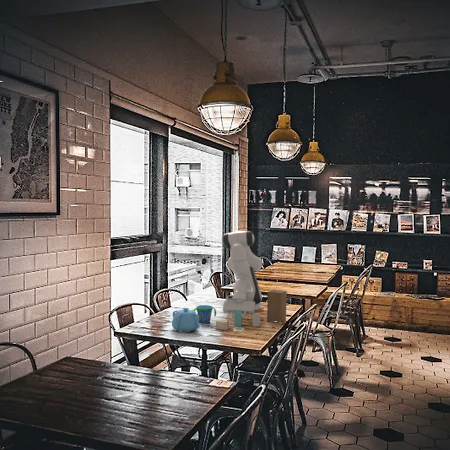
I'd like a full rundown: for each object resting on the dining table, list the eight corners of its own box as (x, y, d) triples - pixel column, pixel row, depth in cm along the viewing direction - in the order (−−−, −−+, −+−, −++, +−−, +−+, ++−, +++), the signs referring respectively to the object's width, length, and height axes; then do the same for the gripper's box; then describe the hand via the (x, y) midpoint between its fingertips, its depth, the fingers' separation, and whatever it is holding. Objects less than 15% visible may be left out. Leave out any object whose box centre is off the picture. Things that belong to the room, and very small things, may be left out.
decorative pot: (197, 327, 316) (198, 305, 316) (200, 333, 300) (200, 310, 300) (171, 327, 314) (172, 305, 314) (172, 333, 298) (172, 310, 298)
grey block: (252, 324, 325) (253, 312, 325) (259, 325, 325) (260, 312, 324) (252, 326, 321) (252, 314, 320) (259, 326, 320) (259, 314, 320)
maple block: (218, 326, 319) (218, 318, 319) (228, 327, 318) (229, 319, 318) (215, 329, 313) (215, 321, 312) (226, 329, 311) (226, 321, 311)
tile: (234, 327, 316) (234, 326, 316) (243, 328, 315) (243, 327, 315) (233, 331, 307) (233, 330, 307) (243, 331, 306) (243, 330, 306)
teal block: (234, 324, 324) (235, 310, 324) (241, 324, 324) (242, 311, 324) (234, 326, 320) (234, 312, 320) (241, 326, 320) (241, 312, 319)
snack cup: (193, 324, 322) (194, 308, 321) (191, 320, 332) (191, 305, 332) (217, 323, 326) (218, 308, 325) (214, 319, 336) (214, 304, 335)
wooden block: (266, 321, 336) (267, 291, 335) (272, 318, 344) (273, 289, 344) (280, 323, 331) (281, 293, 330) (286, 320, 340) (287, 290, 339)
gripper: (255, 303, 332) (254, 321, 322) (224, 302, 334) (222, 320, 324) (255, 297, 327) (254, 316, 318) (223, 296, 329) (222, 314, 320)
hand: (238, 318), depth 321 cm, fingers closed on teal block, 4 cm apart
